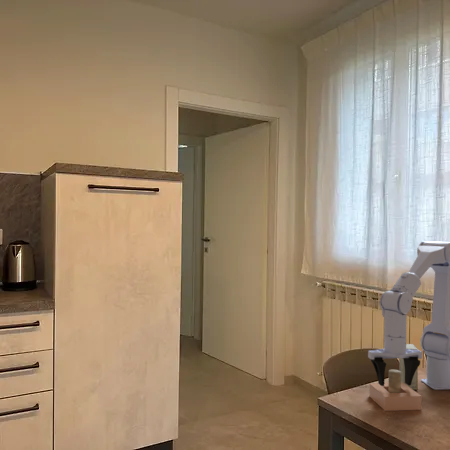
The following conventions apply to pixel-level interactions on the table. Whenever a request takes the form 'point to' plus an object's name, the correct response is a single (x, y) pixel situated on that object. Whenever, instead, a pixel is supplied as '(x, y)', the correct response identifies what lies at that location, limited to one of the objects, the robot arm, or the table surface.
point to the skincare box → (402, 368)
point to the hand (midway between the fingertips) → (394, 384)
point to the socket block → (395, 397)
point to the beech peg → (394, 381)
